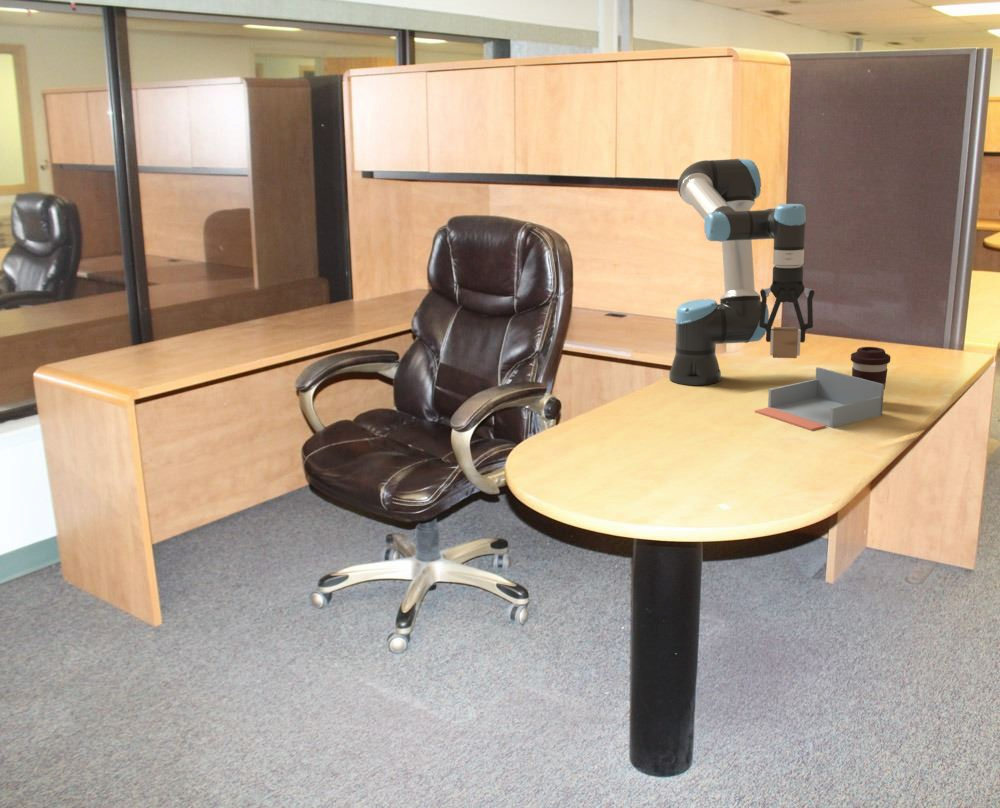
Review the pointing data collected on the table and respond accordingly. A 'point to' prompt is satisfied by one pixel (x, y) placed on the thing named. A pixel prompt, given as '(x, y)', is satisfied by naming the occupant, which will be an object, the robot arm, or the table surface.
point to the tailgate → (790, 419)
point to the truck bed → (830, 398)
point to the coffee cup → (870, 364)
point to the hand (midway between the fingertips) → (784, 354)
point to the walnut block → (785, 342)
